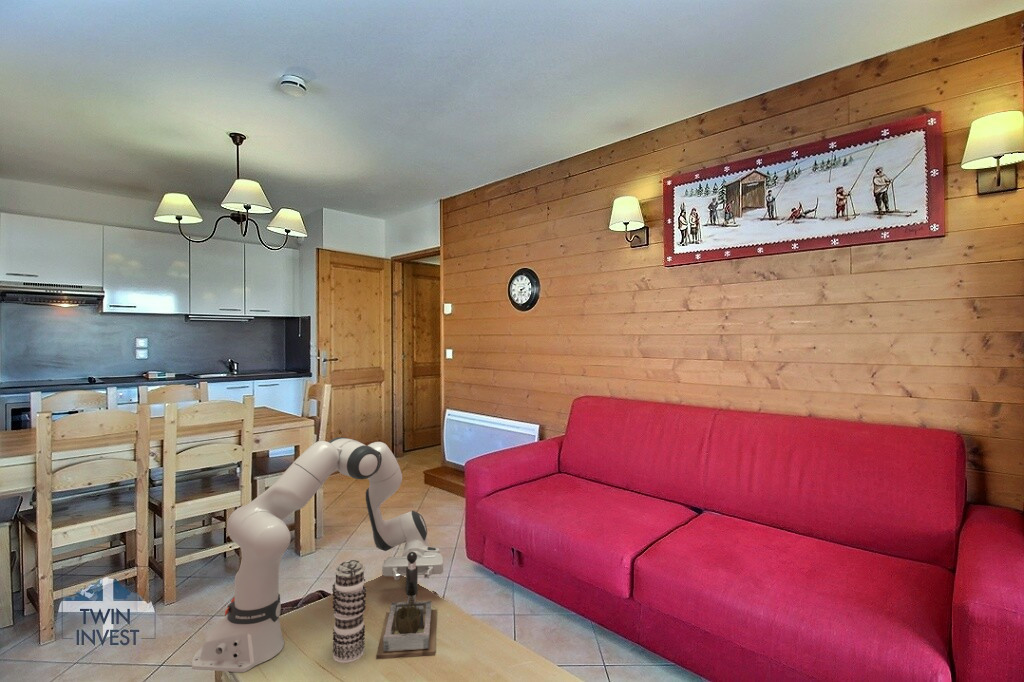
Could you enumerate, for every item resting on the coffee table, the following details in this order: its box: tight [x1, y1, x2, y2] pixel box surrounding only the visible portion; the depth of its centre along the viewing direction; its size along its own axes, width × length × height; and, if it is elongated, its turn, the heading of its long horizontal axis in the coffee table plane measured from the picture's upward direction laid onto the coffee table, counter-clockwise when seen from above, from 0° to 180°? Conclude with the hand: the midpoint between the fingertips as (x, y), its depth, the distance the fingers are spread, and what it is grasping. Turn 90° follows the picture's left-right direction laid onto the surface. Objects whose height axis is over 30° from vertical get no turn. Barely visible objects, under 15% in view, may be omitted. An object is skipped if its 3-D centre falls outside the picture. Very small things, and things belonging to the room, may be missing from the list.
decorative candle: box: [331, 559, 367, 664], centre depth 137 cm, size 9×9×25 cm
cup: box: [396, 605, 421, 634], centre depth 144 cm, size 8×7×8 cm
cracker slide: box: [383, 552, 432, 652], centre depth 147 cm, size 12×21×19 cm, turn 7°
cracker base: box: [375, 606, 438, 660], centre depth 146 cm, size 16×22×6 cm
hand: (411, 576), depth 158 cm, fingers open, 8 cm apart
